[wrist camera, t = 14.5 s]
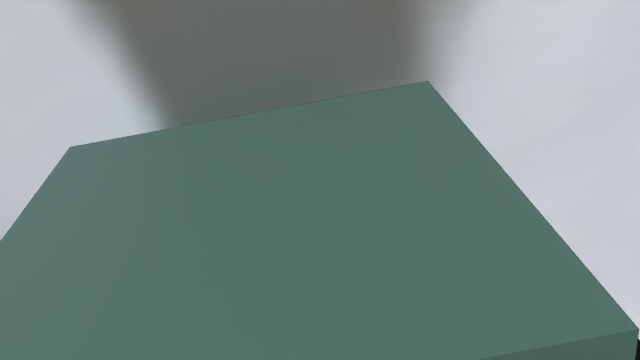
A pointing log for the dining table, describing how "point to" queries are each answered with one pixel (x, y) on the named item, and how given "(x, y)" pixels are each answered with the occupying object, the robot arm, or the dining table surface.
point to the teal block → (299, 246)
